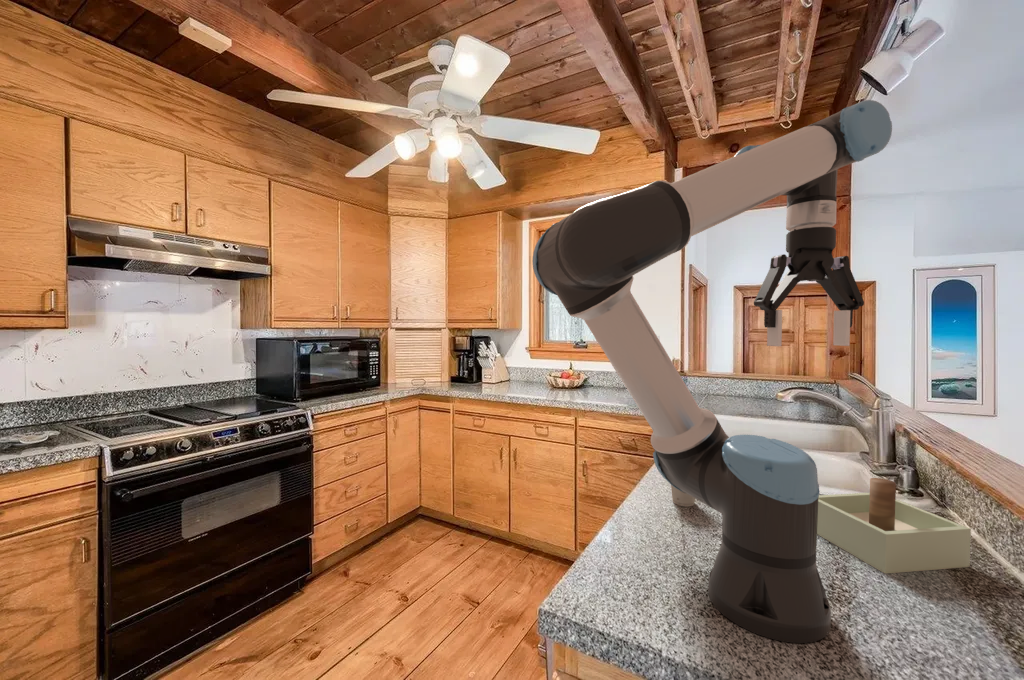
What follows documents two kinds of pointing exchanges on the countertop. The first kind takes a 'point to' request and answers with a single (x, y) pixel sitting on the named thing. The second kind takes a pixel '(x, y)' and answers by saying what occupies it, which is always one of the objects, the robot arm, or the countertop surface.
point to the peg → (882, 504)
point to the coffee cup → (682, 497)
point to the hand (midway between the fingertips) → (808, 346)
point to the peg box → (893, 535)
